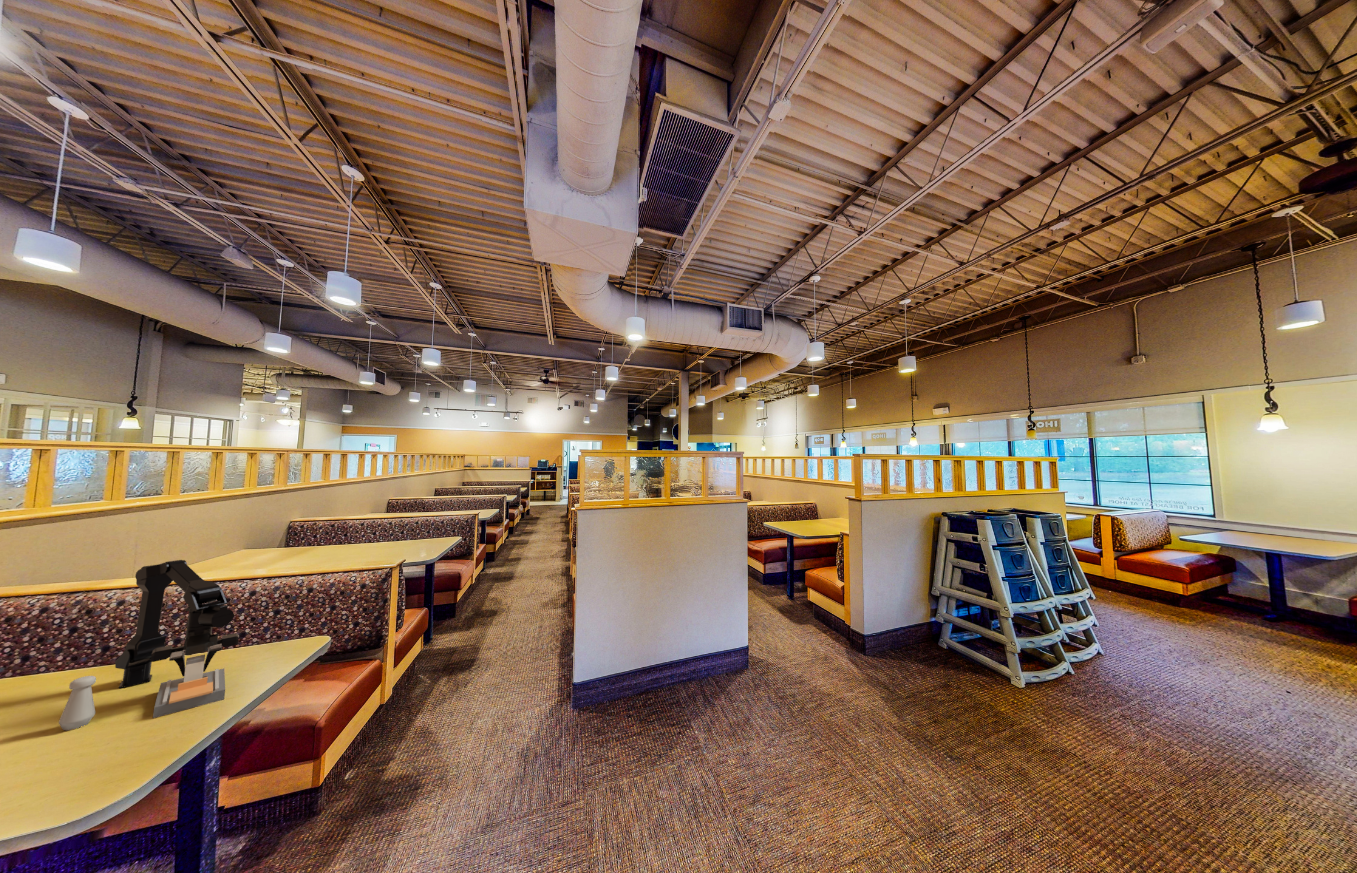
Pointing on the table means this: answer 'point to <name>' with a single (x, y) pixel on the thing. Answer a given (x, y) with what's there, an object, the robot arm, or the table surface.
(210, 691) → the shutter
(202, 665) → the plug
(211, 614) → the robot arm
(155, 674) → the table surface
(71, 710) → the salt shaker
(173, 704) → the socket block
